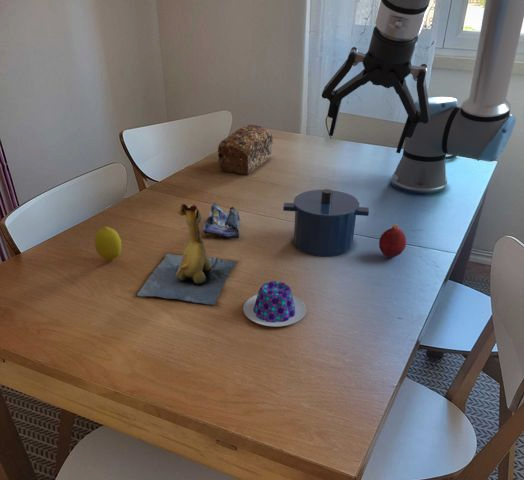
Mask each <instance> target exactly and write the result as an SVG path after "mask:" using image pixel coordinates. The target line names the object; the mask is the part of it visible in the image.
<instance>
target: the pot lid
mask: <svg viewBox="0 0 524 480" xmlns="http://www.w3.org/2000/svg"><path fill="white" fill-rule="evenodd" d="M293 203H294V206H295V207H296V208H297V209H298V210H299V211H301V212H303V213H305V214H308V215H312V216H317V217H327V218H334V217H343V216H347V215H350V214H353V213H354V212H356V211H357V210H358V208H359V207H360V201H359V199H357V198H356V197H355V196H354V195H352V194H349V193H348V192H344V191H339V190H333V189H330V188H324V189H312V190H306V191H303V192H301V193H299V194H297V195H296V196H295V197H294V199H293Z"/></svg>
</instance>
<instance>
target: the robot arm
mask: <svg viewBox="0 0 524 480" xmlns="http://www.w3.org/2000/svg"><path fill="white" fill-rule="evenodd" d="M430 2H431V0H380V1H379V6H378V11H377V14H376V19H375V22H374V23H375V24H374V25H375V26H374V27H373V29H372V34H371V38H370V42H369V45H368V50H367V52H366V53H363V52H361V51H358V48H357V47H356V46H353V47H351V48H350V51H349V53H348V56H347V59H346V60H345V61H344V63H342V65H341V66H340V67H339V68H338V70H337V71H336V72H335V73H334V74H333V76H332V77H331V79H330V80H329V81H328V82H327V83H326V84H325V86H324V88H323V90H322V91H321V92H322V93H321V98H322V99H327V100H328V102H329V104H328V105H329V106H328V111H327V118H330V119H331V124H330V128H329V133H328V136H329V137H333V136H334V133H335V130H336V127H337V123H338V120H339V114H340V111H341V110H340V109H341V104H342V102H343V99H344V98H346V97H347V96H348V95H350V94H351V93H353V92H354V91H355V90H357V89H358V88H360V87H361V86H364V85H366V84H368V83H369V82H370V83H372V85H374V86H382V87H383V88H386V89H390V88H393V89H394V91H395V93H396V94H397V95H398V97H399V99H400V102H401V103H402V106H403V108H404V110H405V112H406V114H407V117H406V121H405V124H404V126H403V129H402V132H401V135H400V138H399V140H398V143H397V147H396V152H395V153H396V154H401V151H402V155H401V158H400V160H399V162H398V164H397V166H396V169H395V171H394V172H393V173H392V175H391V185H392V186H393V187H394V188H395V189H397V190H399V191H401V192H404V193H407V194H411V195H421V196H427V195H428V196H429V195H430V196H431V195H438V194H440V193H443V192H444V191H445V190H446V188H447V184H448V178H447V169H446V160H450V159H454V158H456V157H461V158H466V159H472V160H475V161H477V162H479V161H483V162H487V163H488V162H489V163H493V162H495V161H496V160H498V159H499V157H500V156H501V155H502V154H503V152H504V150H505V148H506V146H507V145H508V142H509V141H510V139H511V137H512V133H513V131H514V128H515V125H516V121H517V117H516V115H513V114H512V113H511V114H510V112H511V108H512V105H511V102H510V101H509V100H508V99H507V95H508V92H509V86H510V82H511V78H512V73H513V69H514V64H515V59H516V55H517V50H518V46H519V42H520V37H521V32H522V27H523V23H524V0H485V3H484V9H483V15H482V19H481V20H482V21H481V27H480V31H479V38H478V43H477V50H476V55H475V61H474V66H473V74H472V77H471V78H472V80H471V84H470V90H469V96H468V98H466V99H465V100H463V102H462V103H461V105H460V106H458V104H459V103H458V99H457V98H454V97H450V96H433V97H428V88H427V82H426V80H427V79H426V74H427V71H428V65H427V64H426V63H421V64H420V65H412V59H413V56H414V52H415V50H416V47H417V44H418V40H419V35H420V34H421V31H422V28H423V25H424V22H425V19H426V15H427V12H428V9H429V6H430ZM360 63H362V66H363V69H362V70H361V71H360V72H359V73H358V74H356V75H355V76H353V77H352V78H351V79H349V80H348V81H346V82H345V83H343V85H341V86H340V87H338V85H340V83H341V82H342V81H343V80H344V78H345V77H346V76H347V75H348V73H349V72H350V71H351V69H352V68H353V67H356V66H357V65H359V64H360ZM409 75H411V76H412V79H413V80H414V81H415V82H416V93H417V99H418V100H416V101H415V100H414V97H413V96H412V94H411V92H410V89H409V87H408V84H407V80H406V78H407V77H408V76H409ZM337 87H338V88H337ZM336 88H337V89H336ZM402 149H403V150H402ZM447 154H448V155H447Z"/></svg>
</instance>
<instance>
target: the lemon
mask: <svg viewBox="0 0 524 480" xmlns="http://www.w3.org/2000/svg"><path fill="white" fill-rule="evenodd" d="M94 248H95V250H96V253H97V254H98V255H99V256H100V258H102V259H104V260H108V261H109V262H113V260H115V259H116V258H118V257H119V256H120V254H121V252H122V240H121V237H120V235H119V233H118V232H117V231H116V230H115V229H114V228H111V227H108V226H103V227H102V228H100V229H98V231H97V232H96V233H95V235H94Z"/></svg>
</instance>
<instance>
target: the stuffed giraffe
mask: <svg viewBox="0 0 524 480" xmlns="http://www.w3.org/2000/svg"><path fill="white" fill-rule="evenodd" d="M177 213H178V214H179V215H180V216H185V218H186V224H187V227H188V232H189V239H188V240H189V241H188V243H187V246H186V247H185V250H184V252H183V254H182V255H181V254H171V253H169V252H167V253H165V255H164V257H163V260H162V261H161V262H160V264H158V265H157V266H156V267H155V268H154V269H153V272H152V273H151V274H150V275H149V277H148V278H147V279H146V280H145V282H144V283H143V285H142V287H141V289H140V290H139V291H138V292H137V294H136V296H137V297H141V298H143V297H157V298H158V297H159V298H164V299H174V300H180V301H186V302H192V303H194V304H204V305H213V306H214V305H216V303H217V300H218V298H219V296H220V294H221V291H222V289H223V287H224V285H225V283H226V280H227V279H228V277H229V275H230V274H231V272H232V270H233V268H234V267H235V266H236V263H237V260H229V259H228V260H226V259H222V258H221V259H220V258H218V257H216V256H215V257H208V255H207V252H206V247H205V243H204V240H203V238H202V234H201V230H200V223H201V222H202V215H201V212H200V210H199V208H198V207H197V205H196V204H189V205H187V204H185V203H181V204H180V206H179V207H178V209H177Z"/></svg>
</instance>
